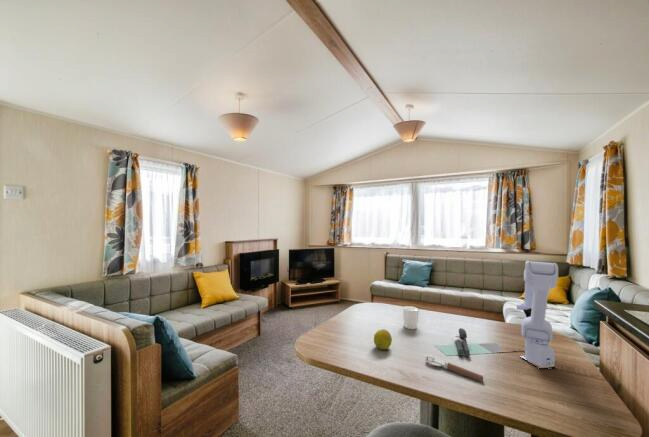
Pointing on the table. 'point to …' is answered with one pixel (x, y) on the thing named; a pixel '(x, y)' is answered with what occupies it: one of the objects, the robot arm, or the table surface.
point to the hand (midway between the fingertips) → (531, 324)
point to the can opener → (462, 339)
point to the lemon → (382, 339)
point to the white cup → (410, 317)
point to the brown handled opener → (454, 368)
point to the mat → (470, 349)
